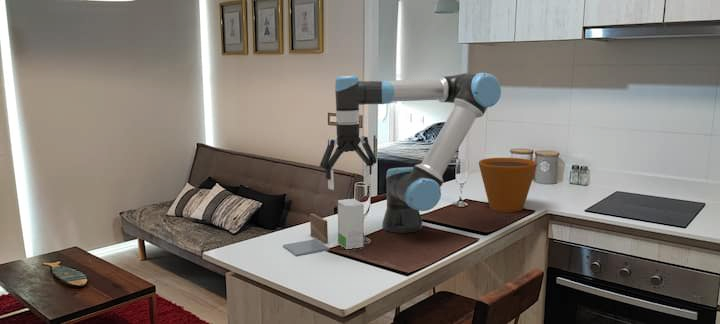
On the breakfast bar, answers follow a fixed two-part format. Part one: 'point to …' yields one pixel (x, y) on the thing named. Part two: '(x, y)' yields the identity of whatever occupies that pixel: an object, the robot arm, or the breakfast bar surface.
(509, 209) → the flower pot
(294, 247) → the slate coaster
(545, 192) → the breakfast bar surface
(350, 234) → the skincare box
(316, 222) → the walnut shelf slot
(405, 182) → the robot arm
